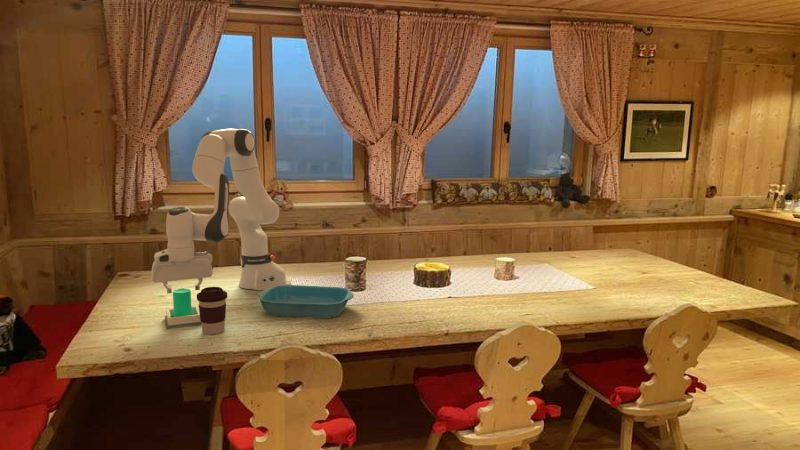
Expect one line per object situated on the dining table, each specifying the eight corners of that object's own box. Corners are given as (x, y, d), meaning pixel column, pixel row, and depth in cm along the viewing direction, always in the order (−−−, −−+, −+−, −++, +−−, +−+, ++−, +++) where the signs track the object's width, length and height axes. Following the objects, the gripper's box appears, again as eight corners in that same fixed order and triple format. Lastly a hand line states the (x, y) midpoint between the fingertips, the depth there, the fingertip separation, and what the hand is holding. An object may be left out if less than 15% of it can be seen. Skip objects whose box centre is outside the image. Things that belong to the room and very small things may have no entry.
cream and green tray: (208, 313, 212) (207, 304, 212) (212, 322, 202) (211, 313, 202) (165, 318, 206) (164, 309, 205) (167, 328, 196) (166, 318, 195)
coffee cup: (202, 326, 199) (200, 285, 196) (231, 326, 200) (229, 285, 197) (194, 336, 189) (192, 293, 187) (225, 336, 190) (223, 293, 188)
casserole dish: (249, 317, 209) (249, 299, 208) (269, 299, 231) (268, 282, 230) (347, 323, 206) (347, 304, 205) (358, 304, 228) (358, 287, 227)
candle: (184, 322, 200) (183, 289, 197) (170, 320, 201) (168, 287, 199) (195, 317, 205) (194, 285, 203) (181, 315, 207) (179, 283, 205)
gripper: (210, 249, 206) (212, 285, 209) (149, 254, 198) (152, 292, 200) (213, 253, 201) (215, 290, 203) (150, 258, 192) (153, 297, 195)
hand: (183, 291), depth 202 cm, fingers open, 8 cm apart
